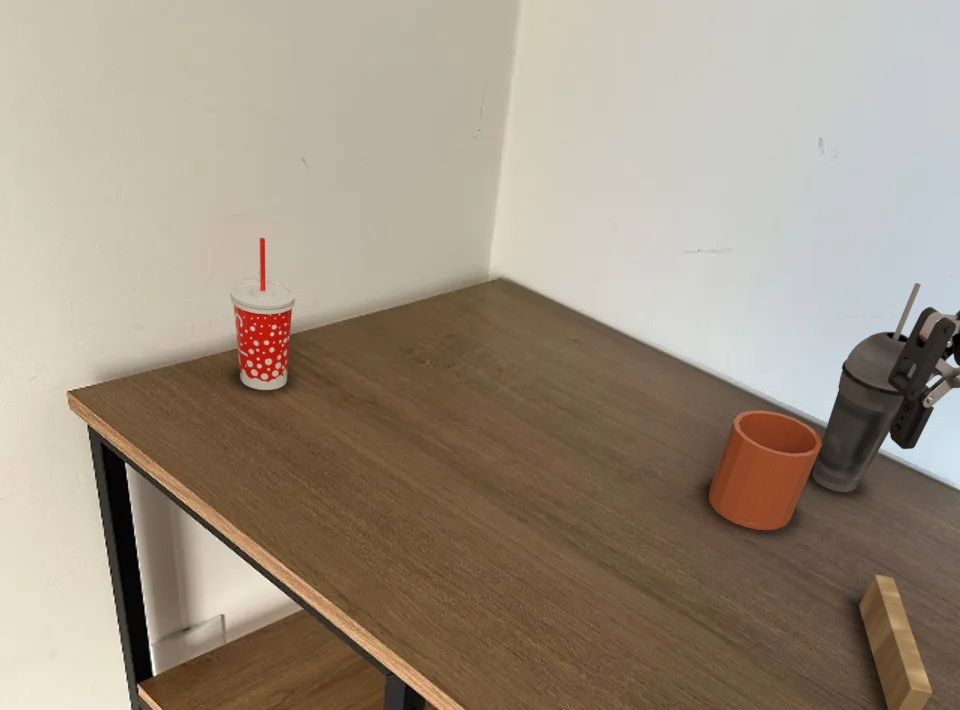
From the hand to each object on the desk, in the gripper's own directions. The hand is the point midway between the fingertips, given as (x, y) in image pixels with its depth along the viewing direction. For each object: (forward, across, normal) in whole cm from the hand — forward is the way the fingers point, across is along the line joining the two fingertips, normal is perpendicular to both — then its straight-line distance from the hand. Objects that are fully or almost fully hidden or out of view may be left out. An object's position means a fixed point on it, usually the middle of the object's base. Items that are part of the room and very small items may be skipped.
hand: (944, 441), depth 76 cm
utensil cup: (+14, -5, +13) cm, 20 cm away
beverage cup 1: (+14, -47, +40) cm, 63 cm away
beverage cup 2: (+15, +7, +16) cm, 23 cm away
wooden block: (+13, -2, -3) cm, 13 cm away
